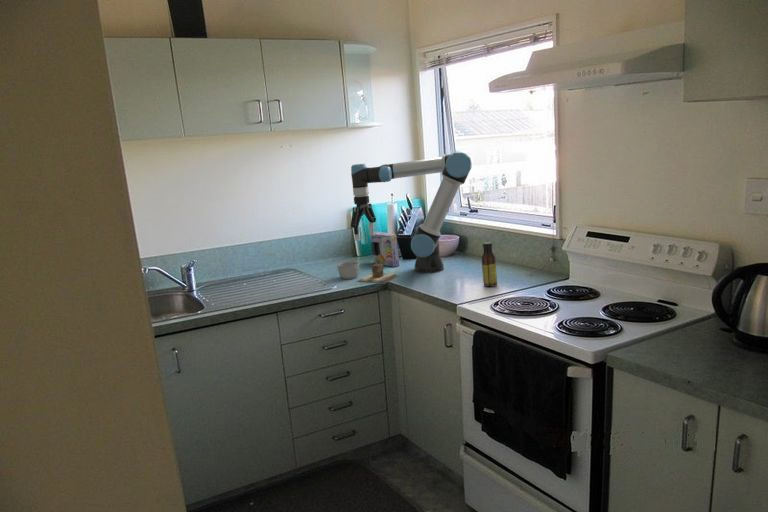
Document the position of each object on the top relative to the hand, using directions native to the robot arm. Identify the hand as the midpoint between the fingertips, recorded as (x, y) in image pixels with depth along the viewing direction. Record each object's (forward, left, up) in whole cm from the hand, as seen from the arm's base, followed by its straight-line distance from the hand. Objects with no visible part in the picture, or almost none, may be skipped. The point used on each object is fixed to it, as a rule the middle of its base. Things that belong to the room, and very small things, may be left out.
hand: (365, 238), depth 288 cm
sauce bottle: (-64, +1, -21) cm, 67 cm away
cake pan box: (+5, -27, -21) cm, 34 cm away
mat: (-7, +3, -20) cm, 22 cm away
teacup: (+10, +3, -21) cm, 23 cm away
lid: (-7, +3, -20) cm, 21 cm away
